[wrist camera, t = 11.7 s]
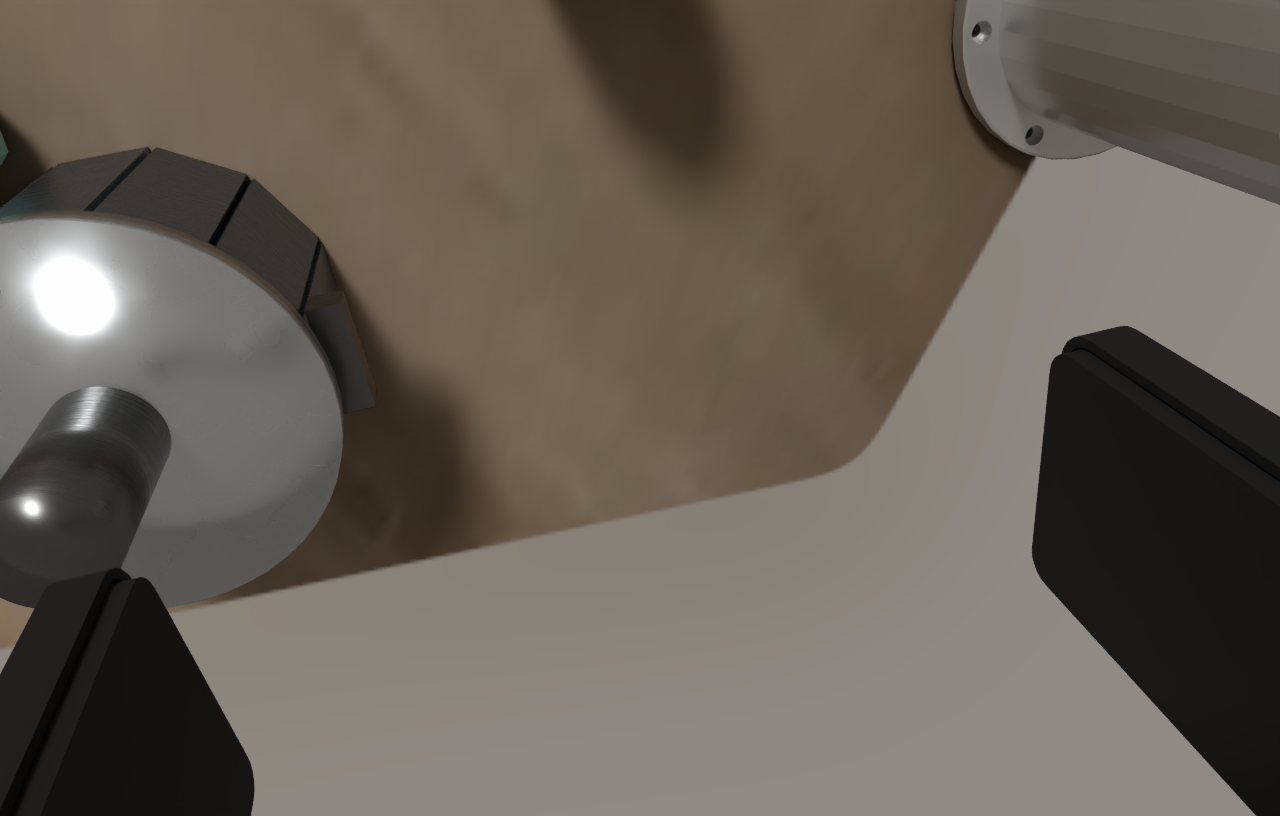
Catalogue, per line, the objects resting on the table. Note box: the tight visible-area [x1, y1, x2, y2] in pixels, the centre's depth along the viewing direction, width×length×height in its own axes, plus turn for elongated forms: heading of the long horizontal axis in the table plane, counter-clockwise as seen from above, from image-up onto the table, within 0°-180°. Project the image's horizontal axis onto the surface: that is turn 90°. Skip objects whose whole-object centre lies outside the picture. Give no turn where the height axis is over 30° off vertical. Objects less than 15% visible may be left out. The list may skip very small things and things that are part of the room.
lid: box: [0, 210, 344, 608], centre depth 27 cm, size 14×14×7 cm
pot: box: [0, 147, 377, 414], centre depth 34 cm, size 16×13×9 cm
